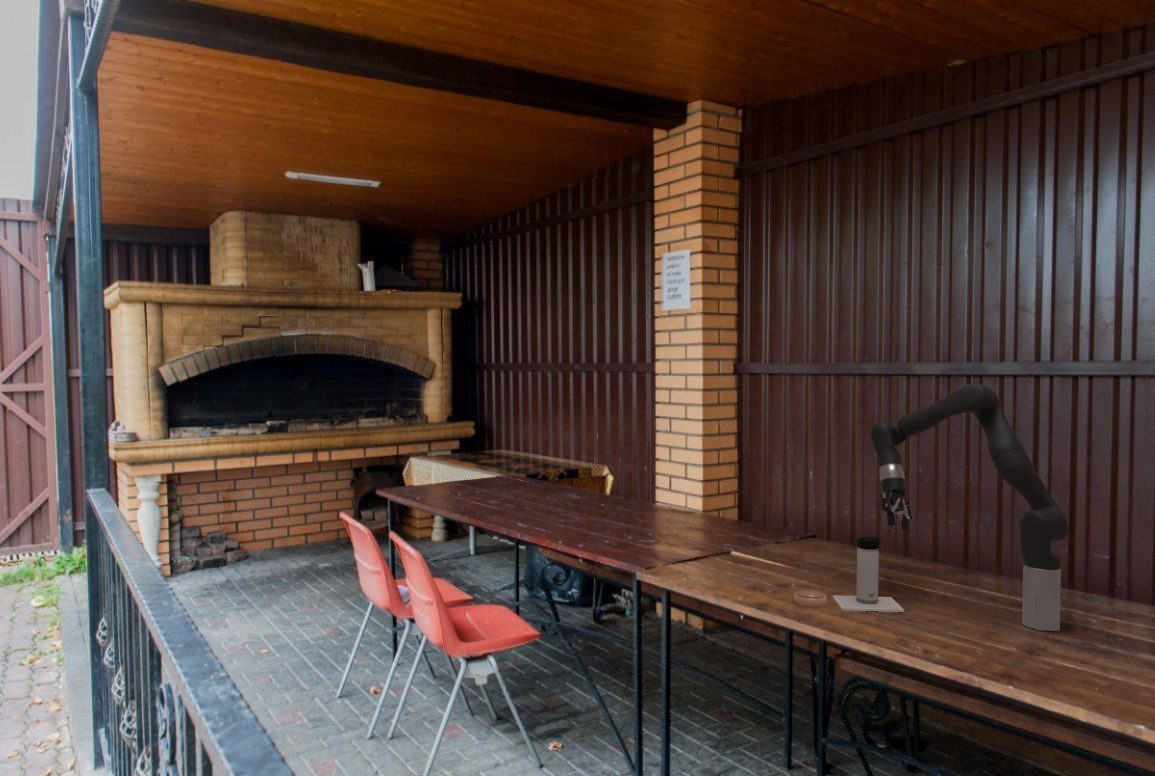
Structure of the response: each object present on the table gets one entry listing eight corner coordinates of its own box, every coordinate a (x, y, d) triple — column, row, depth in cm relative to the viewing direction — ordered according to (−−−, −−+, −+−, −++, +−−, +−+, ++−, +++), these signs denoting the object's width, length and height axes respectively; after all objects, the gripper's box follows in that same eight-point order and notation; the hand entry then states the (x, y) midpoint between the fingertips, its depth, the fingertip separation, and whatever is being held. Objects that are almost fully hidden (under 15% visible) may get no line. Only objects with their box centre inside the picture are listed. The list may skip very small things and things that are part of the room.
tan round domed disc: (830, 607, 245) (830, 598, 245) (796, 606, 246) (796, 597, 246) (823, 598, 255) (823, 588, 255) (791, 597, 256) (791, 587, 256)
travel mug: (876, 605, 244) (877, 540, 243) (854, 602, 248) (855, 537, 247) (880, 600, 250) (882, 536, 249) (858, 597, 253) (859, 533, 252)
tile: (904, 612, 240) (904, 609, 240) (842, 610, 242) (842, 607, 242) (891, 599, 253) (891, 596, 253) (832, 597, 255) (832, 595, 255)
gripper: (891, 471, 255) (898, 521, 248) (914, 483, 264) (922, 531, 256) (870, 477, 261) (876, 525, 253) (893, 488, 269) (900, 535, 261)
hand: (899, 528), depth 255 cm, fingers open, 8 cm apart
